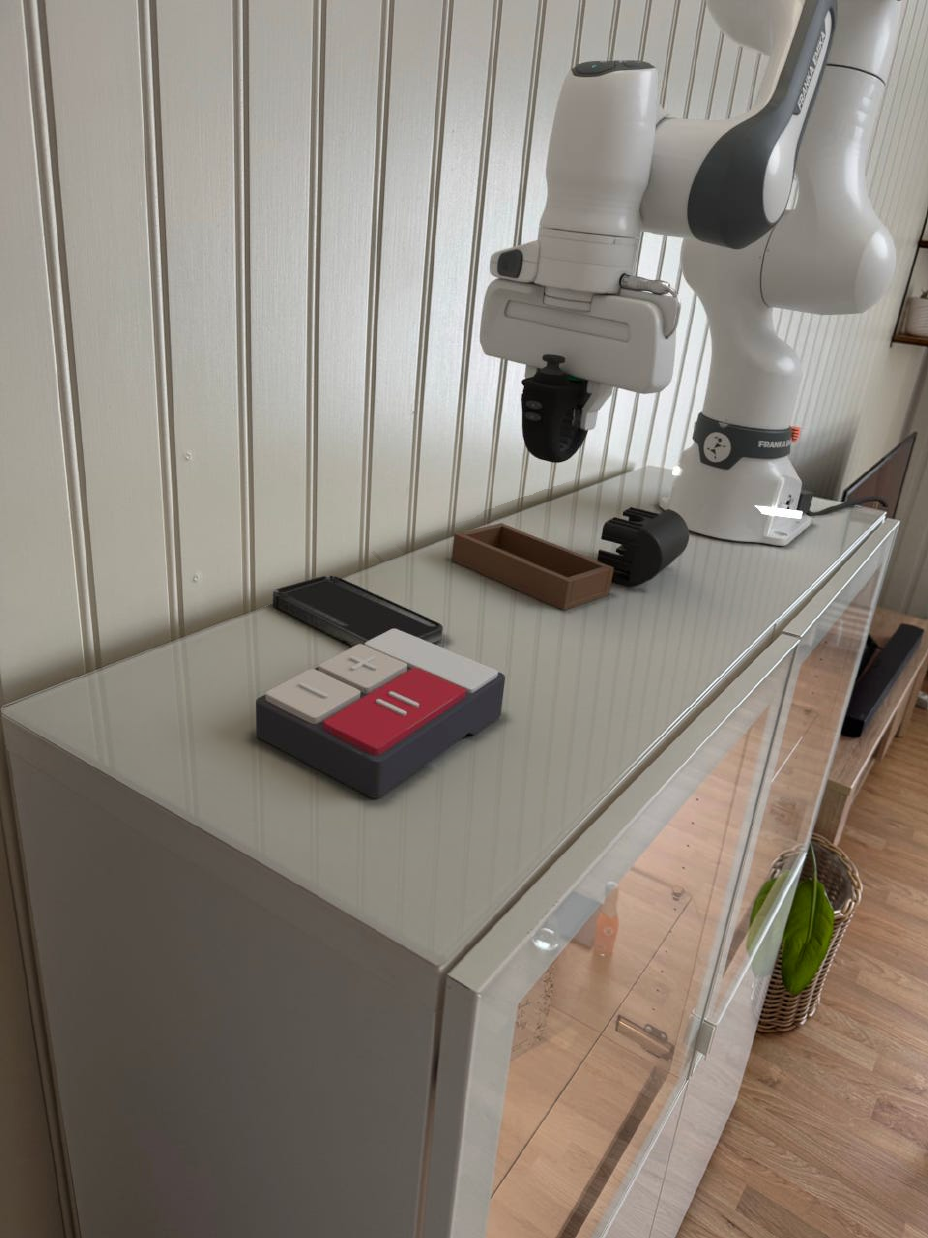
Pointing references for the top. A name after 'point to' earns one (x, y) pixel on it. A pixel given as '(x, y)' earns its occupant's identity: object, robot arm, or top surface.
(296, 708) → the calculator
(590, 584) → the holder
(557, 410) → the controller
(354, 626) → the phone
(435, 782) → the top surface
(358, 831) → the top surface
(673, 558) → the end cap
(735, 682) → the top surface
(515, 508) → the top surface
